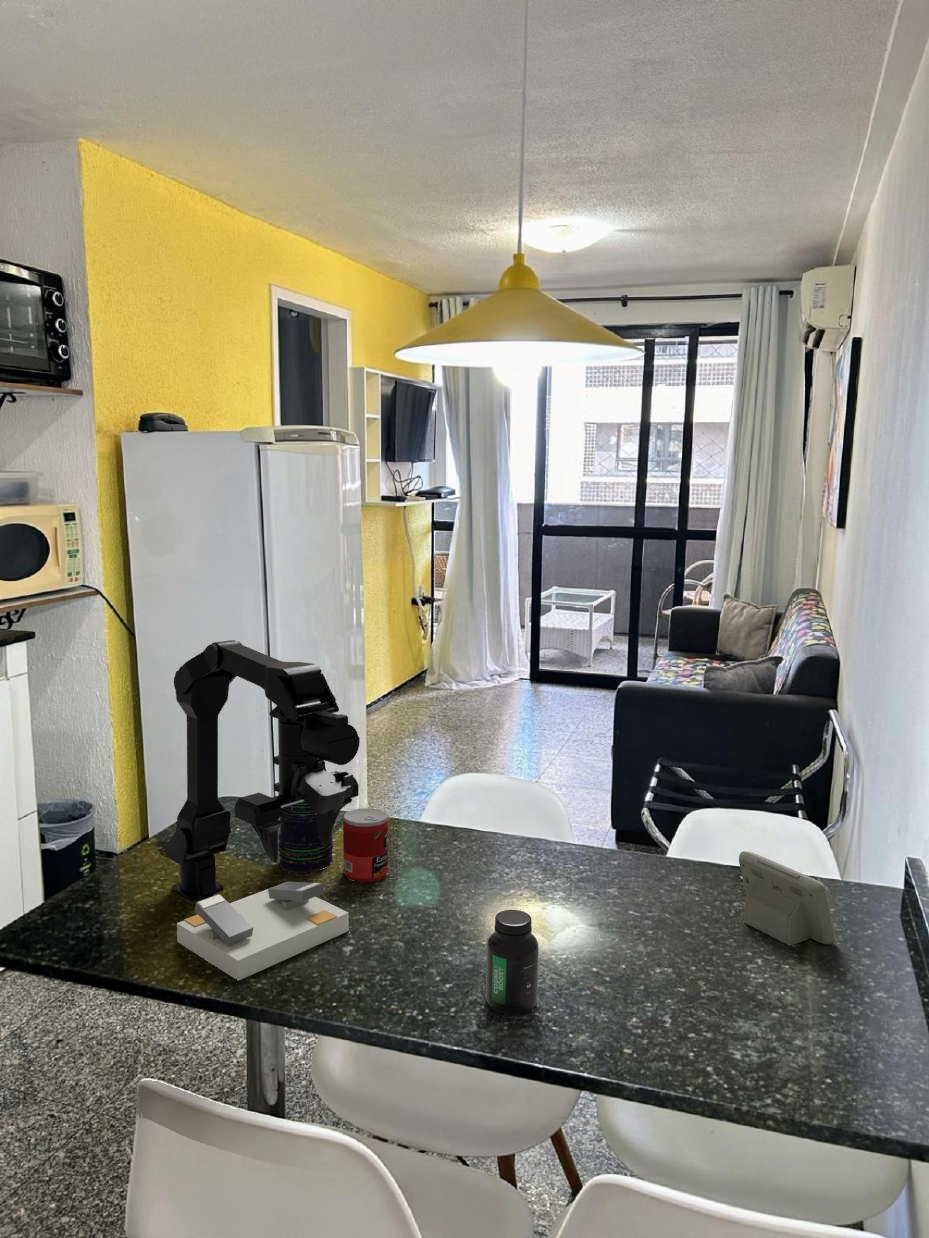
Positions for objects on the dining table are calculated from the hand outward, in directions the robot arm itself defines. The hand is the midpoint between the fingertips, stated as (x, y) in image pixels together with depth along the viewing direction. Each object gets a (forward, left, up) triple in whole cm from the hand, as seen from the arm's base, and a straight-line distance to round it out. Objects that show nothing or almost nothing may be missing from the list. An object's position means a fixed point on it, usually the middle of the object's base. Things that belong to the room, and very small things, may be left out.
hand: (299, 852), depth 132 cm
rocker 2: (-6, +4, -9) cm, 12 cm away
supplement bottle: (+33, +10, -15) cm, 37 cm away
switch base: (-6, -2, -14) cm, 16 cm away
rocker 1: (-6, -9, -9) cm, 14 cm away
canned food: (-12, +24, -15) cm, 31 cm away
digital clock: (+51, +56, -15) cm, 77 cm away
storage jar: (-24, +20, -15) cm, 35 cm away
